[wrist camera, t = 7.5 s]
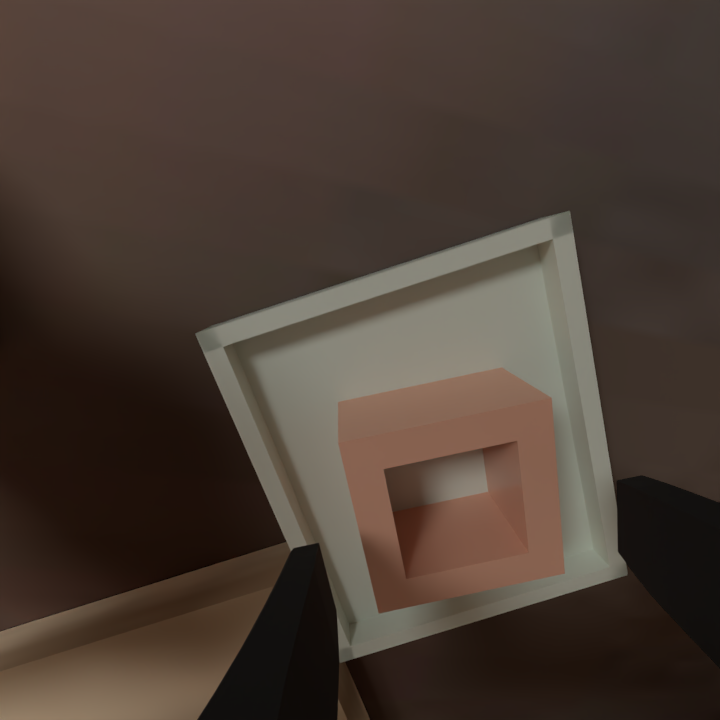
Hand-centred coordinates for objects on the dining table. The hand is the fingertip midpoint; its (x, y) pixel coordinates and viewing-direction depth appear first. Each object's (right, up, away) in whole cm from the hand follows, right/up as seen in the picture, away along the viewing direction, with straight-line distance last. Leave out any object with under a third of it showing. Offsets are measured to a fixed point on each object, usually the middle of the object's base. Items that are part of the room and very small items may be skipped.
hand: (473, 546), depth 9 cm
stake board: (-9, -10, +7) cm, 15 cm away
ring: (0, +1, +4) cm, 4 cm away
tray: (0, +1, +5) cm, 5 cm away
